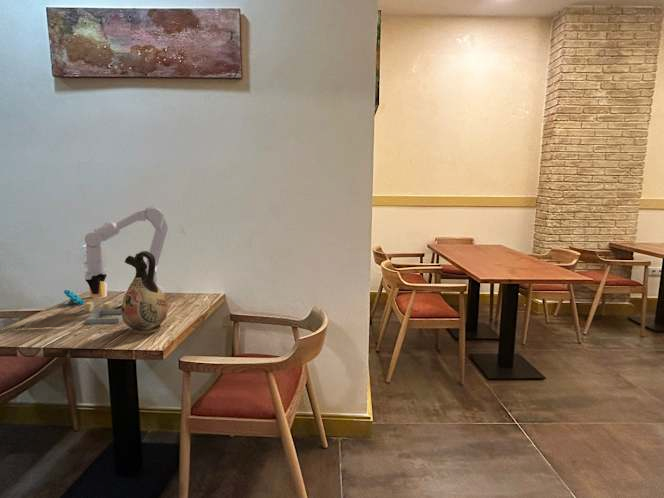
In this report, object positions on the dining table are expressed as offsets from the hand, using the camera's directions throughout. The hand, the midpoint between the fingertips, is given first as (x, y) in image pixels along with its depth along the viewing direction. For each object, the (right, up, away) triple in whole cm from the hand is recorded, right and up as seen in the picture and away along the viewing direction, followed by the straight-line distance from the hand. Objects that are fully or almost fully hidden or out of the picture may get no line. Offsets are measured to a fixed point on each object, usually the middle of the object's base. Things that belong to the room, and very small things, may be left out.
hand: (97, 292), depth 169 cm
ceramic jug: (+31, -12, -21) cm, 39 cm away
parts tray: (+10, -10, -10) cm, 17 cm away
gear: (-16, -7, +10) cm, 20 cm away
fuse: (0, -1, 0) cm, 1 cm away
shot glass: (-13, -5, +25) cm, 28 cm away
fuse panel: (0, -8, +1) cm, 8 cm away
